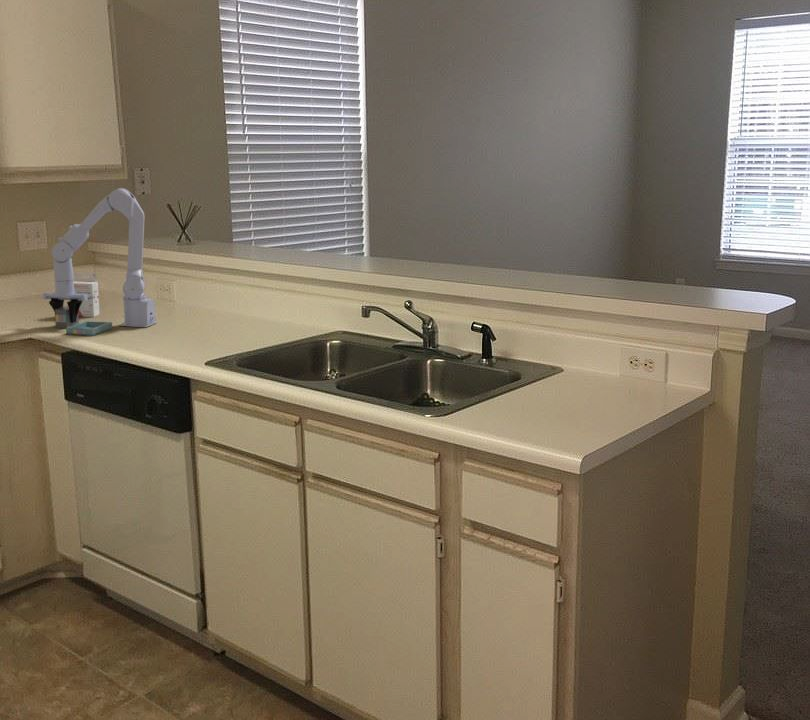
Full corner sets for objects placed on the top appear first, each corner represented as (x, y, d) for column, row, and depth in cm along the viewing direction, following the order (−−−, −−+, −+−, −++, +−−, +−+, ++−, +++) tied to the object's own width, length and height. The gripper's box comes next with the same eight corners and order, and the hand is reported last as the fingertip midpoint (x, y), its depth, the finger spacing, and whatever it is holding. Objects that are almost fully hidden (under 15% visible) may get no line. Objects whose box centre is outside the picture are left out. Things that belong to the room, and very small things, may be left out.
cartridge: (78, 324, 298) (77, 306, 297) (67, 328, 292) (65, 310, 290) (67, 323, 299) (66, 305, 298) (55, 327, 292) (54, 309, 291)
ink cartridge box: (70, 316, 311) (67, 273, 308) (76, 313, 316) (73, 271, 313) (94, 317, 311) (91, 274, 307) (100, 314, 315) (97, 272, 312)
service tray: (112, 328, 293) (111, 322, 293) (92, 335, 282) (92, 329, 281) (86, 326, 295) (86, 320, 294) (66, 334, 283) (65, 328, 283)
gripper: (91, 279, 294) (94, 320, 298) (50, 277, 297) (53, 318, 300) (79, 282, 288) (82, 324, 291) (38, 280, 290) (41, 322, 293)
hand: (67, 321), depth 295 cm, fingers closed on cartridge, 4 cm apart
